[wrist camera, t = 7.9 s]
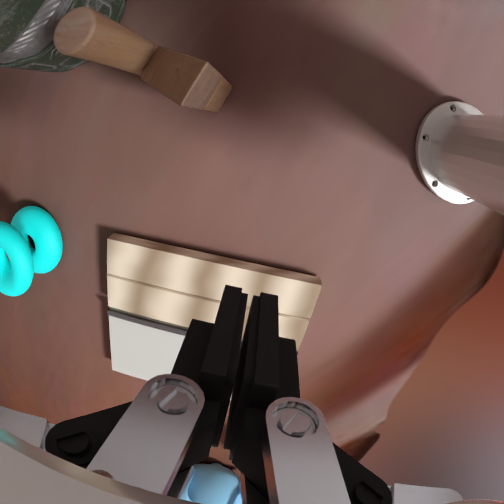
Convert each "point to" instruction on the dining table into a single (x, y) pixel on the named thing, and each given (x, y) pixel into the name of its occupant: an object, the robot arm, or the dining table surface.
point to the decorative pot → (212, 485)
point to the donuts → (27, 248)
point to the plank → (200, 284)
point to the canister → (42, 31)
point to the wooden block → (141, 59)
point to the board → (143, 344)
